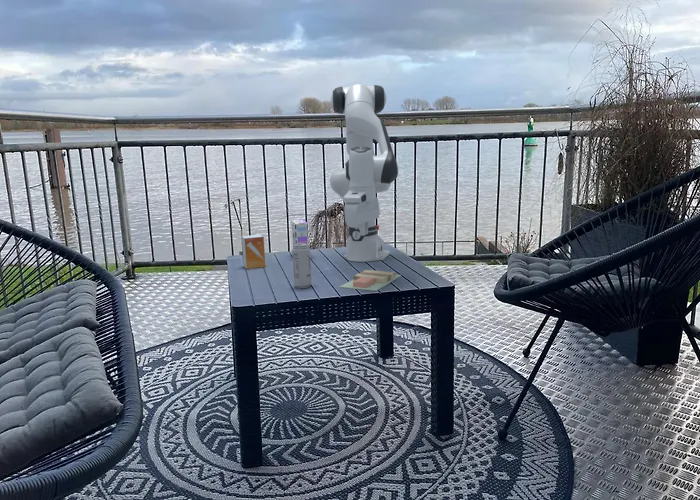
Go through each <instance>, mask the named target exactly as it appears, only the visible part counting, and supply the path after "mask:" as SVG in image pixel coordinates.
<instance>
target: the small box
mask: <svg viewBox="0 0 700 500" xmlns="http://www.w3.org/2000/svg"><path fill="white" fill-rule="evenodd" d="M241 248H242V251H241V252H242V263H243V267H244V268H245V269H246V270H250V269H257V268H258V269H259V268H266V252H265V238H264V236H263V235H262V234H254V235H252V234H251V235H244V236H243V235H242V236H241Z"/></svg>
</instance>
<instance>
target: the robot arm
mask: <svg viewBox="0 0 700 500" xmlns="http://www.w3.org/2000/svg"><path fill="white" fill-rule="evenodd" d="M386 103H387V94H386V92H385V89H384V87H383V86H381V85H378V84H374V85H373V84H372V85H370V84H369V85H368V84H362V83H355V84H353V85H348V86H338V87H336V88H334V89H333V90H332V93H331V96H330V104H331V107H332V109H333V111H334V112H335V113H336V114H339V115H344V117H345V119H344V120H345V123H346V124H345V143H346V144H345V145H346V152H347V153H346V154H348V160H347V161H346V162H345V167H344V168H339V169H335V170H334V171H333V172H332V173H331V174H330V178H329V185H330V188H331V190H332V191H333V192H334V193H336V194H337V195H338V196H339V197H340V198H341V199H342V200H343V204H344V208H343V209H344V211H343V212H344V221H345V223H346V224H345V225H346V226H348V230H347V231H348V235H349V236H348V238H346V244H345V245H346V246H345V247H346V248H345V252H346V253H345V254H344V255H343V258H344V259H346V260H347V261H351V262H358V263H359V262H361V263H362V262H364V263H365V262H374V261H383V260H386V258H387V257H388V256H389V255H391V251H390V250H386V245H385V241H384V239H383V238H382V237H381V236H380V235H379V234H378V231H379V230H380V224H379V225H378V224H377V225H376V219H379V218H380V214H381V213H380V212H381V211H380V203H379V199H378V198H377V195H376V194H378V193H379V194H380V193H382V192H387V191H388V190H389V189H390V186H391V184H392V183H393V182H394V181H395V180H396V179H397V178H398V175H399V164H398V162H397V159H396V156H395V154H394V151H393V147H392V144H391V141H390V136H389V133H388V130H387V127H386V124H385V123H384V120H383V119H381V118H379V117H378V116H377V114H379V113H381V112H382V111H383V110H384V109H385V107H386ZM374 141H376V142H377V144H378V146H379V147H378V148H379V151H380V155H376V154H375V149H374Z"/></svg>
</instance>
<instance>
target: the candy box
mask: <svg viewBox="0 0 700 500" xmlns="http://www.w3.org/2000/svg"><path fill="white" fill-rule="evenodd" d="M290 222H291V233H292V247H294V244H299V243H306V244H308V247H309V248H310V245H309V244H310V243H309V241H310V240H309V224H308V222H307V221H306V220H304V219H293V220H291V221H290Z"/></svg>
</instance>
